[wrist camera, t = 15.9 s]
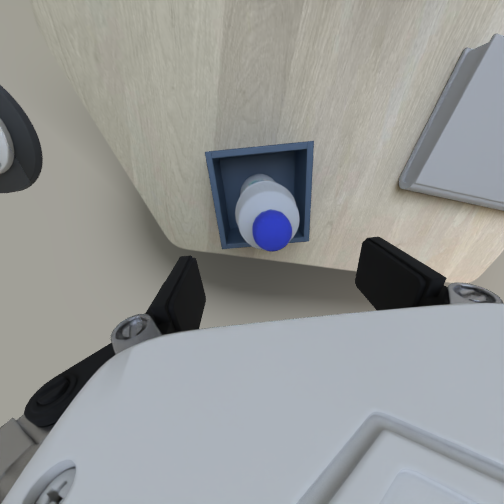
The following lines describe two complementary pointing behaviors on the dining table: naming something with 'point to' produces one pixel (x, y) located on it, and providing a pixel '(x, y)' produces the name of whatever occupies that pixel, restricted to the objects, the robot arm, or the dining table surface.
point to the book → (465, 134)
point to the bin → (260, 162)
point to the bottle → (266, 213)
